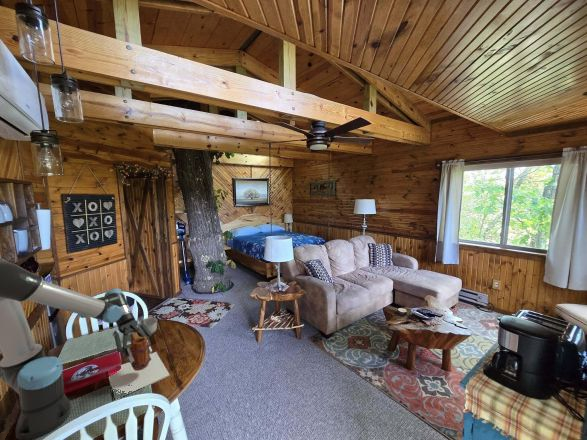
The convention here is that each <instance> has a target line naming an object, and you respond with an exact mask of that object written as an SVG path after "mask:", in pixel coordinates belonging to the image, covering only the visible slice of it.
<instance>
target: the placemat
mask: <svg viewBox="0 0 587 440" xmlns="http://www.w3.org/2000/svg"><path fill="white" fill-rule="evenodd" d="M148 354H149V353H148ZM149 355H150V358H151V360H150V362H149V365H148V366H147V367H146V368H144V369H142V370H139V371H135V370H134V369H133V368H132V365H131V363H130V361H129V362H126V363H123V364H120V366H121V369H120V370H119V371H117V373H115V374H113V375H111V376H109V377H108V380H109V384H110V387H111V386H113V385H115V387H113V389H116V390H118V389H119V390H118V391H119V392H120V390H121V393H122V391H125V392H124V393H127V394H128V392H129V391H132V392H133V391H136V390H138V389H140V388H142V389H144V388H143V387H145V388H146V386H147V387H148V385H149V386H151V385H153V384H155V383H157V382H159V381H162V380H163V379H166V378H168V377H170V376H171V375H170V373H169V371H168V369H167V368H166V366H165V364H164V363H163V361H162V359H161V358H160V356H159V354H158V352H157V351H155V352H151V353H150V354H149ZM129 384H130V386H128V385H129ZM131 385H132V386H131ZM140 390H141V389H140ZM113 391H114V390H113ZM118 391H117V392H116V393H118ZM138 391H139V390H138ZM136 392H137V391H136ZM130 393H131V392H130ZM118 394H120V393H118ZM123 398H124V397H122V398H121V399H123ZM118 399H119V400H121V399H120V398H118ZM116 400H117V399H116ZM113 401H114V402H116V401H115V400H114V399H113ZM117 401H118V400H117Z"/></svg>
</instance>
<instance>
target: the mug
mask: <svg viewBox="0 0 587 440" xmlns="http://www.w3.org/2000/svg"><path fill="white" fill-rule="evenodd" d="M130 334H131V336H130V343H131V346H130V347H129V349H130V351H131V354H132V356H133V358H134V362H133V363H131V365H132V368H133V369H134V370H135V371H139V370H142V369H144V368H146V367H147V366H148V365H149V362H150V360H151V358H150V355H149V353H148V348H149V347H151V345H150V344H149V343H148V342H147V338H146V337H140V336H139V335H138V334H137V332H135V333H133V332H132V333H130Z"/></svg>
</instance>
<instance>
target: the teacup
mask: <svg viewBox="0 0 587 440" xmlns="http://www.w3.org/2000/svg"><path fill="white" fill-rule="evenodd" d="M142 320H143V321H144V324H145V326H146V327H147V328H148V330H149V331H150V333H151V334H152V335H153V334H154V333H155V332H156V331H157V329H158V328H157V327H158V319H157V318H156V317H147V318H146V317H145V318H143V319H142ZM137 327H138V328H139V330H141V331H142V332H143V330H142V329H141V327H140V326H139V325H138V324H137ZM132 333H134V332H132ZM143 333H144V332H143ZM144 334H145V333H144Z"/></svg>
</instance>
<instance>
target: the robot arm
mask: <svg viewBox="0 0 587 440" xmlns="http://www.w3.org/2000/svg"><path fill="white" fill-rule="evenodd" d="M25 301H30V302H32V303H38V304H41V305H45V306H48V307H51V308H55V309H59V310H62V311H63V310H64V311H66V312H71V313H73V314H78V316H79V317H80V318H81V319H85V318H92V319H94V320H99V321H102V322H104V323H106V324H107V323H108V324H113V323H116V325H117V326H116V327H117V328H118V329H117V330H114V331H113V333H112V336H113V337H114V340H115V345H116V350H117V353H123V354H124V356H125V358H128V360H129V362H130V363H133V362H134V358H133V355H132V352H131V350H130V347H128V336H129V334H132V333H133V332H134V333H135V332H137V334H138V336H139V337H146V338H147V342H148V343H149V344H150V347H149V348H148V354H152V353H153V349H152V347H151V345H152V343H151V340H150V338H151V336H152V335H153V334H151V333H150V331H149V330H148V328H147V327H146V326H145V324H144V321H143V319H141V320H139V321H138V320H136V318H135V316H134V314H133V312H132V310H131V307H130V305H129V303H128V301H127V299H126V296H125V294H124V292H123V291H122V289H121V288H112V289H111V290H108V291H107V292H106V293H105V294H104V296H101V297H97V298H96V297H92V296H90V295H87V294H85V293H82V292H78V291H76V290H73V289H69V288H67V287H63V286H60V285H57V284H55V283H52V282H50V281H45V280H44V278H43V276H41V275H38V274H35V273H33V272H31V271H29V270H27V269H25V268H23V267H21V266H19V265H17V264H16V263H13V262H10V261H9V260H8V261H7V260H6V259H3V258H0V352H1V355H2V357H3V358H1V360H0V376H1V380H2V381H3V382H4V383H5V384H6V385H8V386H9V387H10V388H11V389H12V390H13V391H14V392H16V394H18V397H19V403H20V404H19V405H20V415H19V417H18V420H17V423H16V427H15V438H16V439H18V440H33V439H37V438H39V437H42V436H45V435H46V434H49V433H51V432H52V431H53V430H55V429H57V428H58V427H60V426H61V425H62V424H63V423H64V422H65V421H66V420H67V419H68V418H69V417H70V415H71V413H72V409H73V407H72V404H71V401H70V400H69V398H68V397H67V395H66V394H65V386H64V375H63V374H64V373H63V369H64V366H63V363H62V360H61V359H60V358H58V357H57V356H46V354H45V351H44V349H43V346H42V344H40V343H35V340H34V337H33V334H32V330H31V328H30V326H29V322H28V319H27V317H26V315H25V314H26V313H25V311H24V309H23V306H22V303H23V302H25ZM138 325H139V326H140V327H141V329H142V330H143V332H144V333H145V334H144V333H143V332H142V331H141V330H139V328H138V327H137V326H138ZM120 333H121V334H122V342H121V339H120V338H121V337H120Z"/></svg>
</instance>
